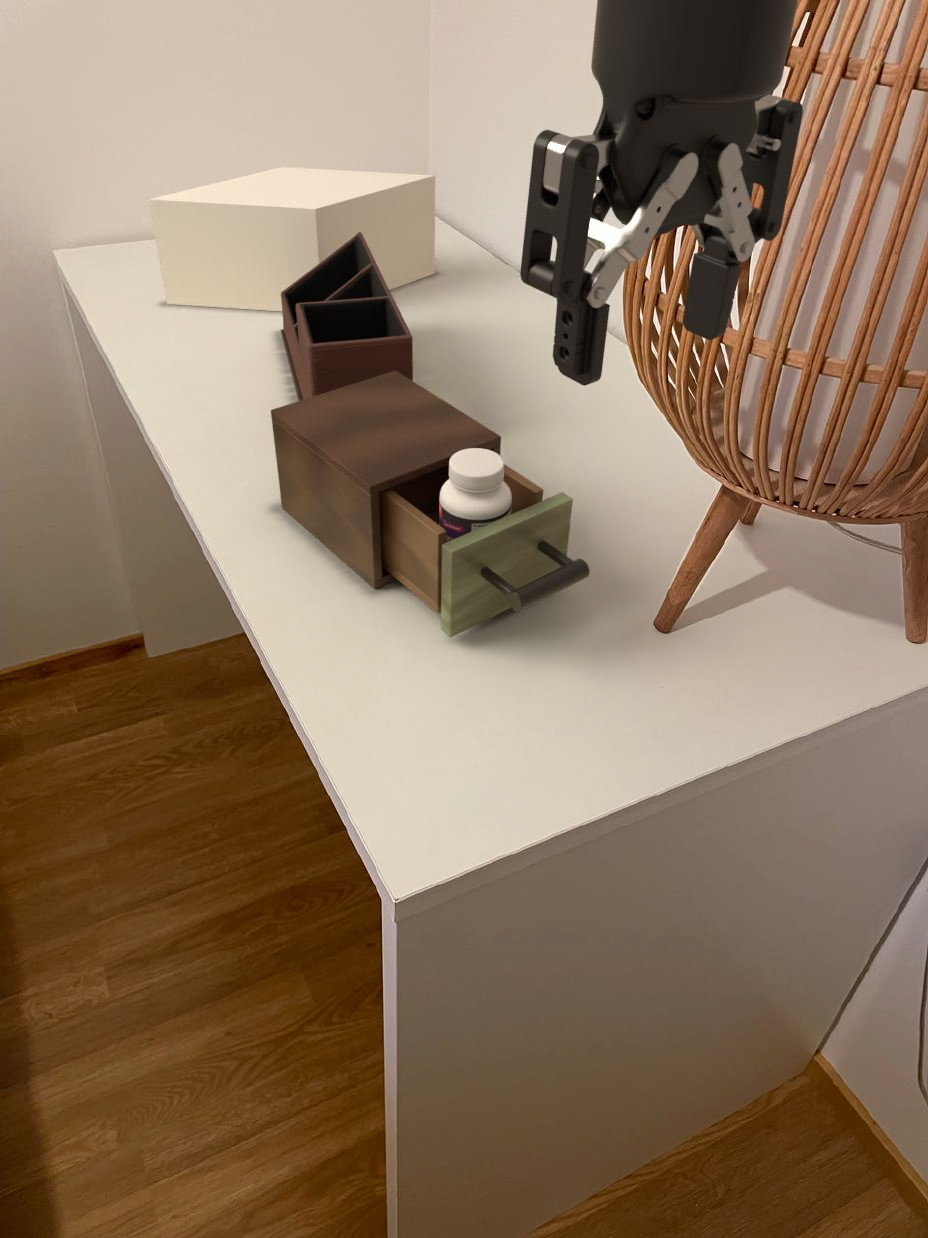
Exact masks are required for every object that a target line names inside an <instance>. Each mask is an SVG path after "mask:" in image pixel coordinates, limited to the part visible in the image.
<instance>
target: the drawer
mask: <svg viewBox="0 0 928 1238" xmlns="http://www.w3.org/2000/svg"><path fill="white" fill-rule="evenodd" d="M447 480H449V465H448V466H445V467H443V468H440V469H437V470H435V471H432V472H430V473H427V474H425V475H422V476H419V477H417V478H414V479H412V480H409V481H406V482H404V483H401V484H399V485H396V486H394V487H391V488H388V489H386V490H383V491H381V492H378V493H379V508H380V533H381V558H382V567H383V568H384V569H386V570H387V571H388V572H389V573H390V574H392V575H393V576H394V577H395V578H396V579H397V580H396V581H399V583H401V584H402V585H403V586H404V587H405V588H407V589H408V590H409V591H410V592H412V593H413V594H414V595H415V596H416V597H417V598H419V599H420V600H421V602H423V603H424V604H426V605H427V606H428V607H429V608H430V609H431V610H433V611H434V612H435V613H436V614H441V615H440V616H441V617H440V630H441V631H442V632H443V633H444V634H446V635H447V636H448V637H449V638H453V637H455V636H458V635H459V634H462V633H463V632H465V631H467V630H470V629H472V628H473V627H475V626H477V625H480V624H481V623H483V622H485V621H487V620H489V619H492V618H493V617H496V616H497V615H499V614H501V613H504V612H506V611H507V610H509V609H513V610H514V611H515V612H521V611H523V610H525V609H527V608H529V607H532V606H533V605H535V604H538V603H539V602H541V601H543V600H545V599H547V598H549V597H551V596H553V595H555V594H557V593H560V592H562V591H563V590H566V589H567V588H569V587H571V586H574V585H575V584H577V583H579V582H581V581H583V580H585V579H587V578H589V576H590V573H591V571H590V566H589V564H588V563H587V562H586V561H585V560H584V559H583V558H577V559H575V560H573V559H572V558H570V557H568V556H567V555H568V547H569V540H570V539H569V538H570V529H571V519H572V513H573V512H572V511H573V503H574V502H573V501H574V499H573V498H572V497H571V496H569V495H568V494H566V493H565V492H559V493H557V494H555V495H552V496H551V497H548V498H546V499H544V489H543V488H542V487H540V486H539V485H537V484H536V483H534V482H532V481H531V480H529V479H528V478H527V477H525V476H523V475H522V474H520V473H519V472H518V471H516V470H515V469H513V468H511V467H510V466H508V465H507V464H505V463H504V478H503V481H504V482H505V483H506V484H507V485H508V487H509V488H510V491H511V494H512V506H511V515H509V516H507V517H504V518H502V519H500V520H497V521H495V522H493V523H490V524H488V525H486V526H484V527H481V528H479V529H477V530H474V531H472V532H470V533H467V534H465V535H463V536H461V537H458V538H456V539H454V540H451V541H449V542H447V531H446V530H445V529H443V528H442V527H441V526H439V498H440V491H441V488H442V486H443V485H444V483H445V482H446V481H447Z"/></svg>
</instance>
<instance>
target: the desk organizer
mask: <svg viewBox="0 0 928 1238" xmlns="http://www.w3.org/2000/svg"><path fill="white" fill-rule="evenodd" d="M281 301H282V311H281V312H282V326H283V329H279V330H280V333H281V338H282V342H283V346H284V350H285V353H286V357H287V361H288V365H289V370H290V374H291V377H292V382H293V386H294V389H295V393H296V397H297V402H298V401H301V400H304V399H307V398H310V397H313V396H317V395H320V394H323V393H326V392H329V391H332V390H336V389H339V388H342V387H345V386H348V385H351V384H354V383H358V382H361V381H364V380H367V379H370V378H373V377H377V376H380V375H383V374H386V373H389V372H392V371H397V372H399V373H401V374H402V375H404V376H405V377H407V378H409V379H410V380H412V381H413V382H414V362H413V361H414V360H413V359H414V358H413V357H414V356H413V355H414V353H413V352H414V351H413V350H414V349H413V339H414V338H413V335H412V332H411V330H410V329H409V326H408V325H407V323H406V320H405V318H404V317H403V315H402V312H401V311H400V309H399V306H398V305H397V302H396V301H395V299H394V297H393V295H392V293H391V290H389V289H388V287H387V285H386V283H385V281H384V279H383V277H382V274H381V272H380V270H379V268H378V266H377V264H376V262H375V260H374V258H373V256H372V253H371V251H370V249H369V247H368V245H367V243H366V241H365V239H364V237H363V235H362V233H361V232H359V233H358V234H357V235H355V236H354V237H353V238H351V239H350V240H349V241H348V242H346V243H345V244H344V245H342V246H341V247H340V248H339V249H337V250H336V251H335V252H334V253H332V254H331V255H330V256H328V257H327V258H326V259H324V260H323V261H322V262H320V263H319V264H318V265H317V266H315V267H314V268H313V269H311V270H310V271H309V272H307V273H306V274H305V275H303V276H302V277H301V278H299V279H298V280H297V281H296V282H294V283H293V284H292V285H290V286H289V287H288V288H286V289H285V290H284V291H282V292H281Z"/></svg>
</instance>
